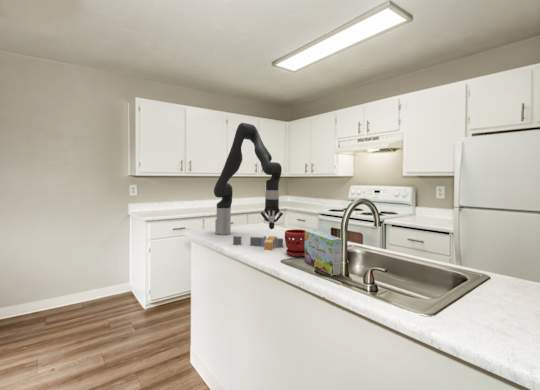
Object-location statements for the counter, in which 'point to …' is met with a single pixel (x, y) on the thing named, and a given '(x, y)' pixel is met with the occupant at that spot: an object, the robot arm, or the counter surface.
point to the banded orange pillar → (269, 243)
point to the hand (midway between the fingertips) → (271, 228)
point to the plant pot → (295, 242)
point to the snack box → (323, 251)
